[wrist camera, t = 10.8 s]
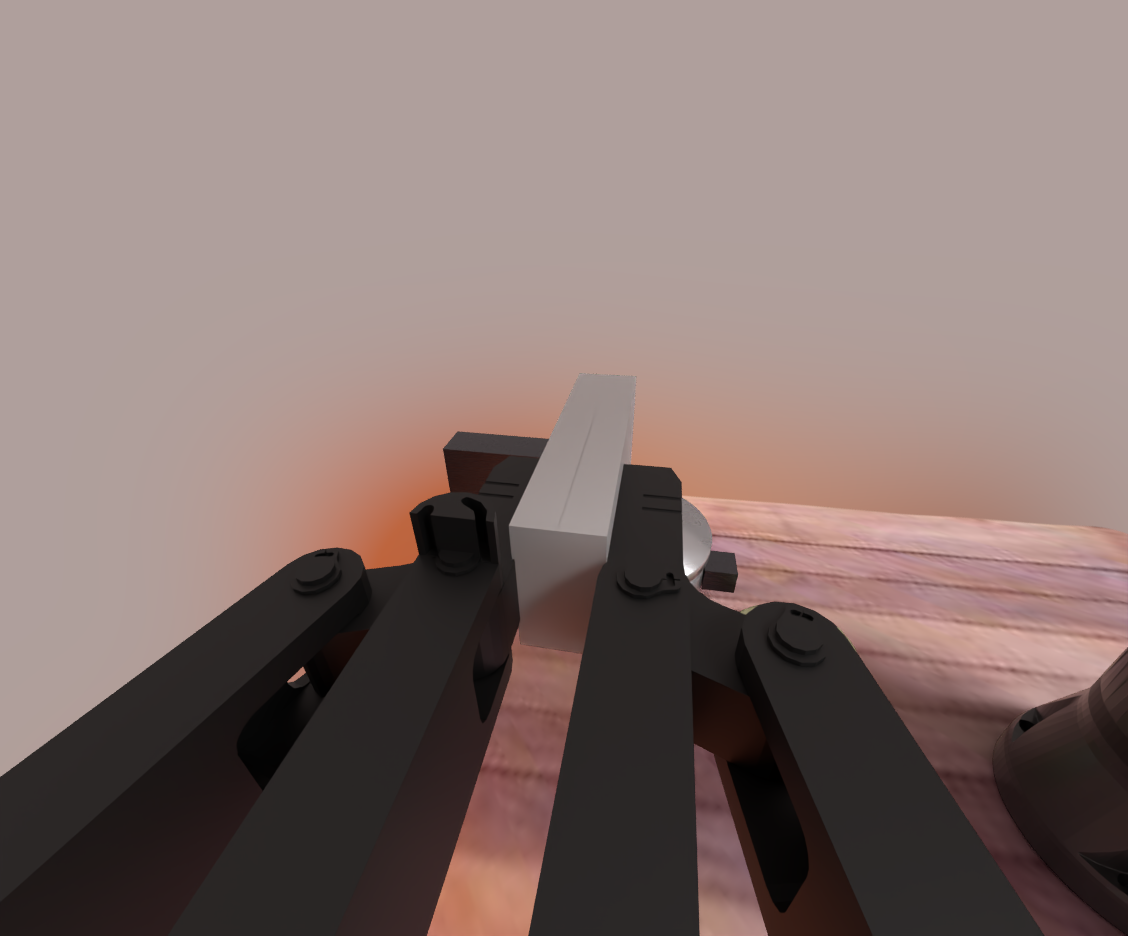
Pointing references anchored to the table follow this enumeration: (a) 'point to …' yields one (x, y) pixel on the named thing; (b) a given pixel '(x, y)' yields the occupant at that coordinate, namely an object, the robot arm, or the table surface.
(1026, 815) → the robot arm
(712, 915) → the table surface
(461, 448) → the lid
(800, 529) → the table surface
